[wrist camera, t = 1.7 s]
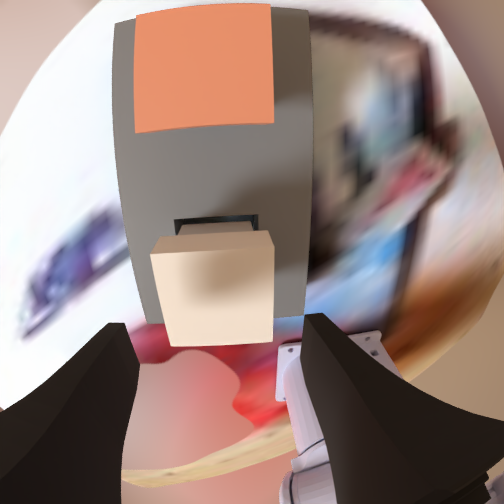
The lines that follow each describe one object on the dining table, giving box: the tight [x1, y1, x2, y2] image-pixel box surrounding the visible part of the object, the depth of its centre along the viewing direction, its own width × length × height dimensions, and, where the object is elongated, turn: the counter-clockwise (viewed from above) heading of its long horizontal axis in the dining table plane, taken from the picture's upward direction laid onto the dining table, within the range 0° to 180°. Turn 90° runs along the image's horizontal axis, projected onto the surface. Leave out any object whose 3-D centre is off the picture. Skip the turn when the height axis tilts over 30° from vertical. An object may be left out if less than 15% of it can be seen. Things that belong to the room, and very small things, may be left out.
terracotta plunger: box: [134, 3, 274, 133], centre depth 9 cm, size 5×5×5 cm
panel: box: [112, 7, 313, 324], centre depth 15 cm, size 10×18×3 cm, turn 1°
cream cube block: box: [150, 221, 275, 346], centre depth 13 cm, size 5×5×5 cm
